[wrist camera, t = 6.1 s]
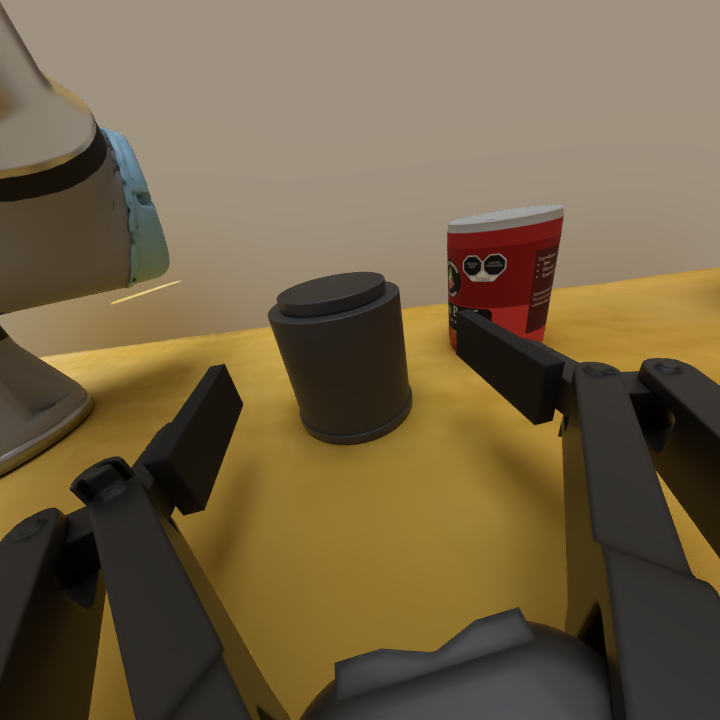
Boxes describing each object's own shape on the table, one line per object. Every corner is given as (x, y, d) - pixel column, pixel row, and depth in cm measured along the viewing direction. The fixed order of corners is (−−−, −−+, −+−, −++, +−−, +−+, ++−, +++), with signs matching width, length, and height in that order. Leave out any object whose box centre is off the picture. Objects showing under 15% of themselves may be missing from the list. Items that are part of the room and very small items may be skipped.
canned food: (440, 333, 30) (436, 222, 25) (514, 321, 29) (527, 205, 24) (464, 368, 23) (467, 225, 18) (562, 353, 22) (594, 202, 17)
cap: (278, 421, 21) (231, 306, 17) (346, 366, 27) (325, 270, 22) (372, 464, 16) (340, 314, 12) (430, 384, 22) (424, 265, 17)
